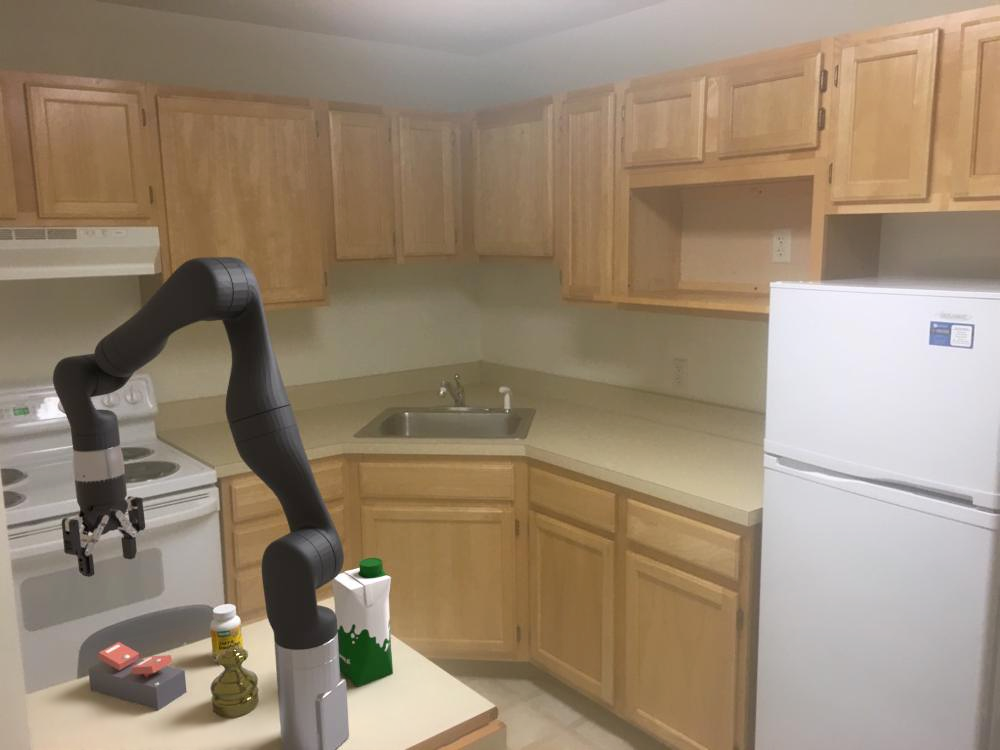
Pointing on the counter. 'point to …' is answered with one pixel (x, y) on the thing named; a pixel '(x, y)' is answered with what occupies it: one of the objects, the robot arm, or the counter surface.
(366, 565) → the milk carton
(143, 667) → the near rocker
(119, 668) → the far rocker
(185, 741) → the counter surface
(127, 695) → the switch box
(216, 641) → the supplement bottle
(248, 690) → the gold chess piece
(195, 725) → the counter surface
